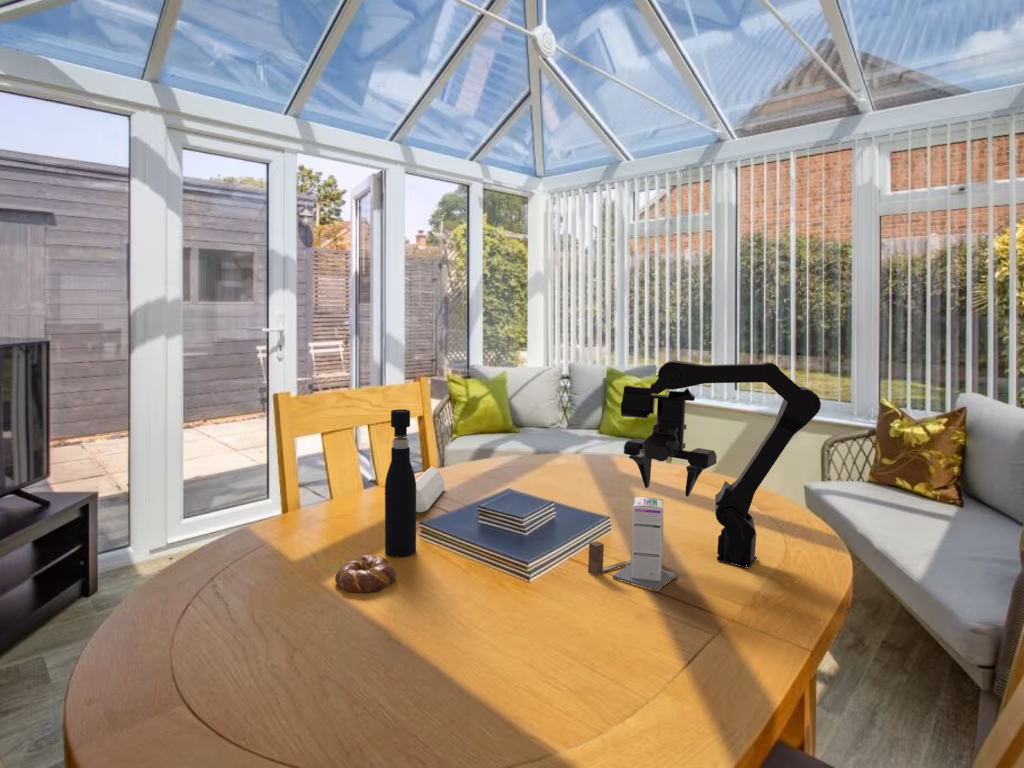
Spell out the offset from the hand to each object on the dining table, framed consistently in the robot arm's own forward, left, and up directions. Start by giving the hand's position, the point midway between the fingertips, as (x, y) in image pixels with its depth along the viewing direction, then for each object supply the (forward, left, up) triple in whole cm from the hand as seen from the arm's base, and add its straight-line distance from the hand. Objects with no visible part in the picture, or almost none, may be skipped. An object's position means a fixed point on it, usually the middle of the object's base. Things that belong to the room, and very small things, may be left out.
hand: (666, 491), depth 126 cm
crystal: (+64, +10, -14) cm, 67 cm away
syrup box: (-3, +15, -13) cm, 20 cm away
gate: (+3, +13, -13) cm, 19 cm away
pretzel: (+37, +51, -14) cm, 64 cm away
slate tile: (-3, +15, -13) cm, 20 cm away
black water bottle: (+42, +38, -13) cm, 58 cm away
